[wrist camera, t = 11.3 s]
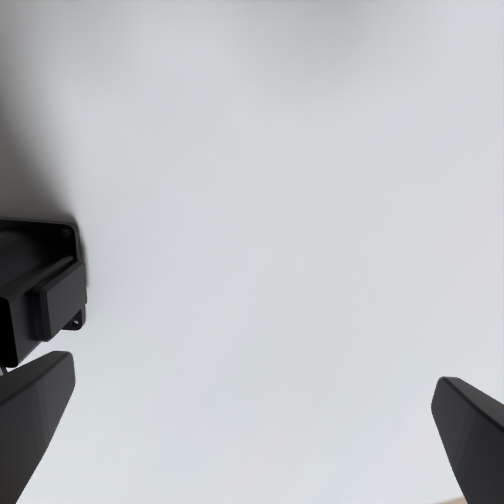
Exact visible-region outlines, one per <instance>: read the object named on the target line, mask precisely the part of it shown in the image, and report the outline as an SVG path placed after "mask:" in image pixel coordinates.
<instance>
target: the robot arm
mask: <svg viewBox="0 0 504 504" xmlns="http://www.w3.org/2000/svg"><path fill="white" fill-rule="evenodd" d="M65 229H68V230H69V231H70V233H71V235H70V236H69V235H67V234H66V233H65ZM86 303H87V291H86V278H85V265H84V263H83V261H82V260H81V256H80V243H79V231H78V228H77V227H76V226H75V225H74V224H72V223H69V222H56V221H44V220H31V219H18V218H6V217H0V504H16V502H17V500H18V499H19V497H20V495H21V494H22V492H23V490H24V488H25V487H26V485H27V483H28V481H29V480H30V478H31V476H32V474H33V473H34V471H35V469H36V468H37V466H38V464H39V462H40V461H41V459H42V457H43V455H44V453H45V452H46V450H47V448H48V446H49V443H50V441H51V439H52V437H53V435H54V433H55V430H56V428H57V426H58V424H59V421H60V419H61V417H62V415H63V413H64V410H65V408H66V406H67V404H68V402H69V399H70V397H71V395H72V393H73V390H74V387H75V370H74V361H73V355H72V354H71V353H70V352H67V351H52V352H50V353H48V354H46V355H43V356H41V357H39V358H37V359H35V360H33V361H31V362H29V363H27V364H24V365H22V366H20V367H18V368H16V369H14V370H12V371H10V372H7V369H6V367H7V368H15V367H17V366H18V365H19V364H20V363H21V362H22V361H23V360H24V359H25V358H26V357H27V356H28V355H29V354H30V353H31V352H32V351H33V350H34V349H35V348H36V347H37V346H38V345H39V344H40V343H41V342H48V341H50V340H51V339H52V338H53V337H54V336H55V335H56V334H57V333H58V332H59V331H60V330H74V331H75V330H79V329H81V328H82V326H83V325H84V324H85V321H86V320H85V307H84V305H85V304H86ZM73 319H75V320H77V321H78V324H77V323H75V322H74V321H73ZM431 411H432V415H433V418H434V420H435V423H436V426H437V429H438V431H439V434H440V437H441V440H442V443H443V445H444V448H445V451H446V454H447V456H448V459H449V462H450V465H451V467H452V470H453V472H454V475H455V477H456V479H457V482H458V484H459V486H460V488H461V490H462V493H463V495H464V497H465V499H466V501H467V503H468V504H504V404H502V403H500V402H498V401H497V400H495V399H493V398H492V397H490V396H488V395H487V394H485V393H483V392H482V391H480V390H478V389H477V388H475V387H473V386H472V385H470V384H468V383H467V382H465V381H463V380H461V379H460V378H457V377H441V378H439V380H438V382H437V385H436V389H435V392H434V396H433V399H432V403H431Z"/></svg>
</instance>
